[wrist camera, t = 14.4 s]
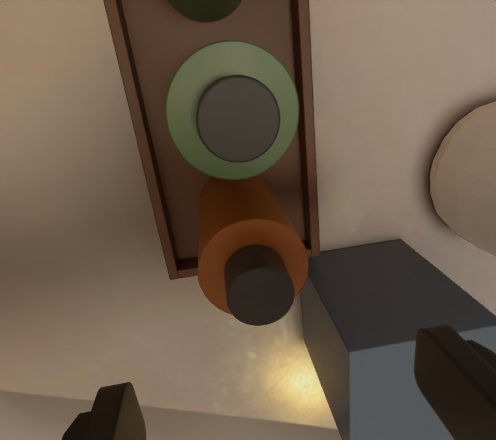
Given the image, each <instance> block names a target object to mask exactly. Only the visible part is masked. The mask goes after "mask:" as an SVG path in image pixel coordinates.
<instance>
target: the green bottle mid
mask: <svg viewBox="0 0 496 440" xmlns="http://www.w3.org/2000/svg"><path fill="white" fill-rule="evenodd" d="M165 116H166V123H167V127H168V131H169V134H170V136H171V139H172V141H173V143H174V145H175V147H176V148H177V150H178V151H179V153H180V154H181V155H182V156H183V158H184V159H185V160H186V161H187V162H188V163H190V164H191V165H192V166H193V167H194V168H196V169H198V170H199V171H201V172H203V173H205V174H207V175H209V176H212V177H215V178H220V179H225V180H239V179H246V178H250V177H253V176H256V175H259V174H261V173H263V172H265V171H266V170H268V169H269V168H271V167H272V166H273V165H274V164H276V163H277V162H278V161H279V160H280V159H281V158H282V157H283V155H284V154H285V153H286V151H287V150H288V148H289V147H290V145H291V143H292V141H293V139H294V136H295V134H296V130H297V126H298V121H299V100H298V94H297V90H296V87H295V84H294V82H293V79H292V78H291V76H290V74H289V72H288V71H287V69H286V68H285V66H284V65H283V64H282V63H281V62H280V61H279V60H278V59H277V57H275V56H274V55H273V54H272V53H270V52H269V51H267V50H266V49H264V48H262V47H261V46H258V45H256V44H253V43H250V42H246V41H240V40H223V41H218V42H214V43H211V44H208V45H206V46H204V47H202V48H200V49H198V50H196V51H195V52H194V53H192V54H191V55H190V56H189V57H188V58H187V59H186V60H185V61H184V62H183V63H182V64H181V65H180V67H179V68H178V69H177V71H176V73H175V74H174V76H173V78H172V80H171V83H170V85H169V88H168V92H167V96H166V104H165Z"/></svg>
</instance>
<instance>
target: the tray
mask: <svg viewBox="0 0 496 440" xmlns="http://www.w3.org/2000/svg"><path fill="white" fill-rule="evenodd" d="M103 1H104V5H105V9H106V13H107V17H108V22H109V26H110V30H111V34H112V38H113V43H114V47H115V51H116V55H117V59H118V64H119V68H120V72H121V76H122V80H123V85H124V89H125V93H126V97H127V101H128V106H129V110H130V114H131V118H132V122H133V127H134V131H135V135H136V139H137V144H138V148H139V152H140V156H141V160H142V165H143V169H144V173H145V177H146V181H147V186H148V190H149V194H150V198H151V202H152V207H153V211H154V215H155V219H156V223H157V228H158V232H159V236H160V240H161V244H162V249H163V253H164V257H165V261H166V266H167V270H168V274H169V278H170V280H173V279H178V278H184V277H191V276H197V275H198V243H199V213H200V196H201V193H202V190H203V188H204V186H205V184H206V183H207V181H208V180H209V179H210V178H211V177H212V176H209V175H207V174H205V173H203V172H201V171H199V170H198V169H196V168H194V167H193V166H192V165H191V164H190V163H188V162H187V161H186V160H185V159H184V158H183V156H182V155H181V154H180V153H179V151H178V150H177V148H176V147H175V145H174V143H173V141H172V139H171V136H170V134H169V131H168V127H167V123H166V116H165V104H166V96H167V92H168V88H169V85H170V83H171V80H172V78H173V76H174V74H175V73H176V71H177V69H178V68H179V67H180V65H181V64H182V63H183V62H184V61H185V60H186V59H187V58H188V57H189V56H190V55H191V54H192V53H194V52H195V51H196V50H198V49H200V48H202V47H204V46H206V45H208V44H211V43H214V42H218V41H223V40H240V41H246V42H250V43H253V44H256V45H258V46H261V47H262V48H264V49H266V50H267V51H269V52H270V53H272V54H273V55H274V56H275V57H277V59H278V60H279V61H280V62H281V63H282V64H283V65H284V66H285V68H286V69H287V71H288V72H289V74H290V76H291V78H292V79H293V82H294V84H295V87H296V90H297V94H298V100H299V121H298V126H297V130H296V134H295V136H294V139H293V141H292V143H291V145H290V147H289V148H288V150H287V151H286V153H285V154H284V155H283V157H282V158H281V159H280V160H279V161H278V162H277V163H276V164H274V165H273V166H272V167H271V168H269V169H268V170H266V171H265V172H263V173H261V174H259V175H260V176H261V177H262V178H263V179H264V180H265V181H266V183H267V184H268V186H269V187H270V189H271V191H272V192H273V194H274V196H275V197H276V199H277V201H278V202H279V204H280V206H281V207H282V209H283V210H284V212H285V214H286V215H287V217H288V219H289V220H290V222H291V224H292V225H293V227H294V229H295V230H296V232H297V234H298V235H299V237H300V239H301V240H302V242H303V244H304V246H305V248H306V251H307V254H308V257H311V256H312V257H313V256H319V255H320V242H319V219H318V197H317V174H316V152H315V129H314V107H313V84H312V62H311V39H310V16H309V0H242V2H241V3H240V5H239V6H238V7H237V8H236V9H235V10H234V11H233V12H232V13H231V14H230V15H228V16H227V17H225V18H223V19H221V20H218V21H214V22H199V21H195V20H192V19H189V18H187V17H186V16H184V15H182V14H181V13H180V12H178V11H177V10H176V9H175V8H174V7H173V6H172V5H171V4H170V2H169V1H168V0H103Z"/></svg>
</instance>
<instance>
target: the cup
mask: <svg viewBox="0 0 496 440" xmlns="http://www.w3.org/2000/svg"><path fill="white" fill-rule="evenodd" d="M430 194H431V197H432V200H433V203H434V207H435V210H436V212H437V214H438V215H439V216H440V217H441V219H442V220H443V221H444V222H445V223H446V224H447V225H448V226H449V227H450V228H451V229H452V230H453V231H454V232H455V233H456V234H457V235H459V236H460V237H462V238H464V239H465V240H467V241H469V242H470V243H472V244H473V245H475V246H477V247H478V248H480V249H483V250H485V251H487V252H489V253H491V254H493V255H495V256H496V101H495V102H492V103H489V104H486V105H483V106H480V107H477V108H476V109H474V110H473V111H472V112H470V113H469V114H468V115H466V116H465V117H463V118H462V119H461V120H459V121H458V122H457V123H456V124H455V125H454V127H453V128H452V129H451V130H450V131H449V133H448V134H447V135H446V136H445V138H444V139H443V141H442V143H441V145H440V147H439V149H438V151H437V153H436V155H435V157H434V159H433V163H432V167H431V171H430Z"/></svg>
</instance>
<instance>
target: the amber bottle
mask: <svg viewBox="0 0 496 440" xmlns="http://www.w3.org/2000/svg"><path fill="white" fill-rule="evenodd" d="M308 268H309V260H308V254H307V251H306V248H305V246H304V244H303V242H302V240H301V239H300V237H299V235H298V234H297V232H296V230H295V229H294V227H293V225H292V224H291V222H290V220H289V219H288V217H287V215H286V214H285V212H284V210H283V209H282V207H281V206H280V204H279V202H278V201H277V199H276V197H275V196H274V194H273V192H272V191H271V189H270V187H269V186H268V184H267V183H266V181H265V180H264V179H263V178H262V177H261V176H260V175H256V176H253V177H250V178H246V179H239V180H225V179H220V178H215V177H211V178H210V179H209V180H208V181H207V183H206V184H205V186H204V188H203V190H202V193H201V196H200V213H199V243H198V280H199V284H200V287H201V289H202V291H203V293H204V294H205V296H206V297H207V298H208V300H209V301H210V302H211V303H212V304H214V305H215V306H216V307H217V308H219V309H220V310H222V311H224V312H226V313H229V314H232V315H233V316H234V317H235V318H237V319H238V320H239V321H241V322H243V323H246V324H249V325H255V326H261V325H267V324H270V323H273V322H275V321H277V320H279V319H280V318H282V317H283V316H284V315H285V314H286V313H287V312H288V311H289V309H290V308H291V306H292V304H293V301H294V298H295V297H296V296H297V294H298V293H299V292H300V290H301V289H302V287H303V285H304V283H305V281H306V278H307V274H308Z"/></svg>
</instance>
